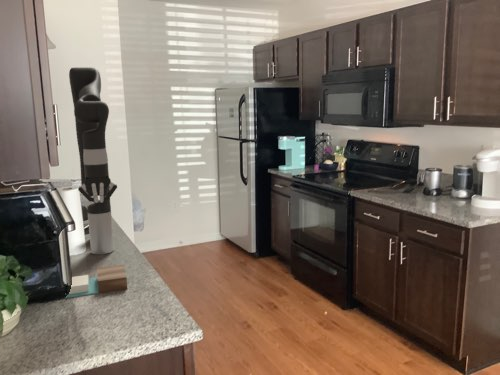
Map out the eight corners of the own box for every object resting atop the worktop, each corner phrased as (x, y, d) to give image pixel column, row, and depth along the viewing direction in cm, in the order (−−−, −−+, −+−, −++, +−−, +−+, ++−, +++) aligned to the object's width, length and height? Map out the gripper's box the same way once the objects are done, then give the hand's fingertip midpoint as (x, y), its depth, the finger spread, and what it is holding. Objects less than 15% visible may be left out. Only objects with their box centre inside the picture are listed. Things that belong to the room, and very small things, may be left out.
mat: (67, 282, 150) (67, 281, 150) (98, 278, 153) (98, 277, 153) (65, 298, 137) (65, 297, 137) (98, 293, 140) (98, 292, 140)
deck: (98, 278, 153) (97, 268, 152) (124, 275, 156) (123, 264, 155) (98, 292, 141) (97, 281, 140) (127, 288, 144) (126, 277, 143)
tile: (88, 274, 149) (88, 281, 150) (69, 277, 147) (70, 284, 148) (88, 284, 141) (88, 291, 141) (68, 287, 139) (69, 294, 139)
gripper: (116, 159, 150) (119, 208, 153) (75, 161, 146) (79, 212, 149) (117, 162, 143) (120, 213, 146) (73, 164, 139) (78, 217, 142)
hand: (100, 212), depth 148 cm, fingers closed
